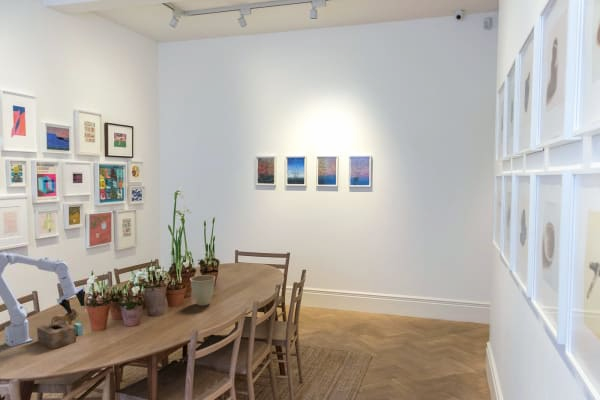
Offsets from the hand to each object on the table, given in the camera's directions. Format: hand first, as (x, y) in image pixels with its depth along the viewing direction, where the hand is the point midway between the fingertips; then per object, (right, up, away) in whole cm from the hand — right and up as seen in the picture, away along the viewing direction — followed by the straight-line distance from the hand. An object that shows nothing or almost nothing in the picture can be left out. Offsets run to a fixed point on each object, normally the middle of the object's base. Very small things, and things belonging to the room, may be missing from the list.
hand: (76, 309), depth 222 cm
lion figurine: (-12, -12, +10) cm, 20 cm away
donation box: (-4, -13, -11) cm, 17 cm away
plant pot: (+54, -8, +47) cm, 72 cm away
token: (+1, -12, -1) cm, 12 cm away
